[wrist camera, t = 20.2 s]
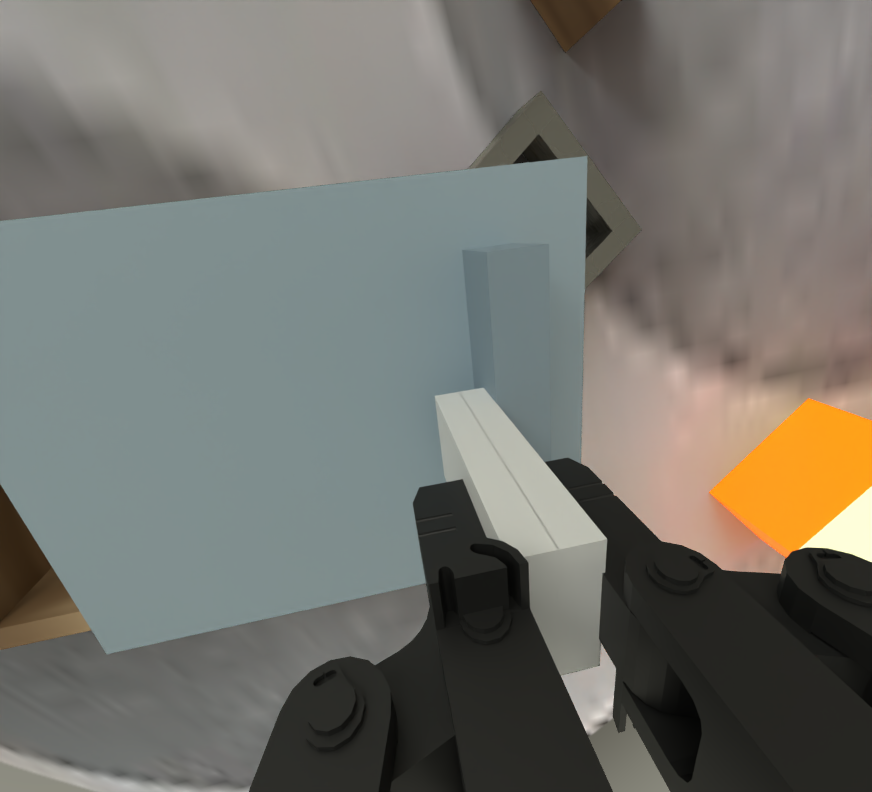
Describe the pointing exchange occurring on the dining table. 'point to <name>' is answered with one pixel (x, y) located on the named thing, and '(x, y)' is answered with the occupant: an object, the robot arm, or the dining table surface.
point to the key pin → (572, 17)
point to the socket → (551, 139)
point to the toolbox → (30, 588)
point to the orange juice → (807, 483)
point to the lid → (274, 382)
